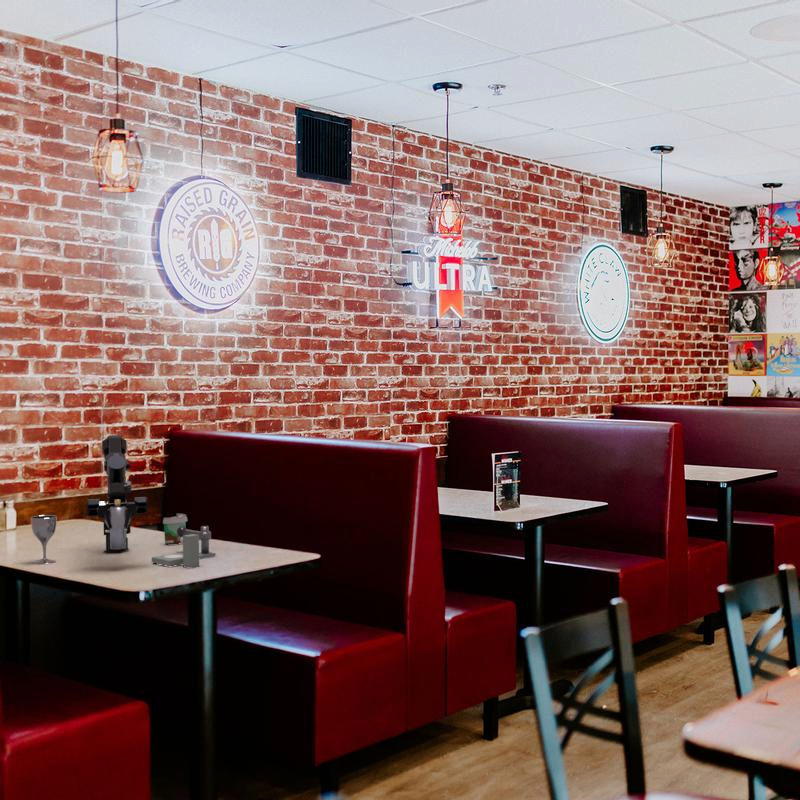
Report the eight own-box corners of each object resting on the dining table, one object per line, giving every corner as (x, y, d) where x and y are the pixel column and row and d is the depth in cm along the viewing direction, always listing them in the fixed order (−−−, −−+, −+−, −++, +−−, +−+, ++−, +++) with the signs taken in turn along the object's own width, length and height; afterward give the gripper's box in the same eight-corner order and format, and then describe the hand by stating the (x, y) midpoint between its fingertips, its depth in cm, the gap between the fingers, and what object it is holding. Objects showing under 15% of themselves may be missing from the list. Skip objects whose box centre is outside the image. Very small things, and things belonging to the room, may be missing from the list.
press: (151, 563, 324) (151, 532, 324) (205, 554, 340) (205, 525, 340) (180, 569, 313) (180, 537, 313) (235, 559, 329) (234, 529, 329)
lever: (174, 548, 344) (173, 523, 344) (184, 547, 347) (183, 522, 347) (203, 554, 333) (203, 527, 333) (213, 552, 336) (213, 526, 336)
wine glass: (62, 560, 331) (61, 515, 331) (46, 564, 324) (45, 518, 323) (42, 559, 334) (41, 514, 333) (26, 563, 326) (25, 517, 326)
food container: (179, 546, 357) (179, 518, 357) (163, 545, 358) (162, 517, 358) (193, 540, 369) (192, 513, 369) (177, 540, 370) (177, 513, 370)
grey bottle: (107, 549, 313) (106, 500, 312) (114, 546, 317) (113, 498, 317) (122, 549, 312) (121, 500, 311) (128, 546, 317) (128, 498, 316)
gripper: (86, 474, 315) (86, 513, 305) (147, 471, 320) (149, 510, 310) (86, 496, 323) (87, 535, 313) (146, 493, 328) (148, 532, 318)
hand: (118, 527), depth 313 cm, fingers closed on grey bottle, 5 cm apart
